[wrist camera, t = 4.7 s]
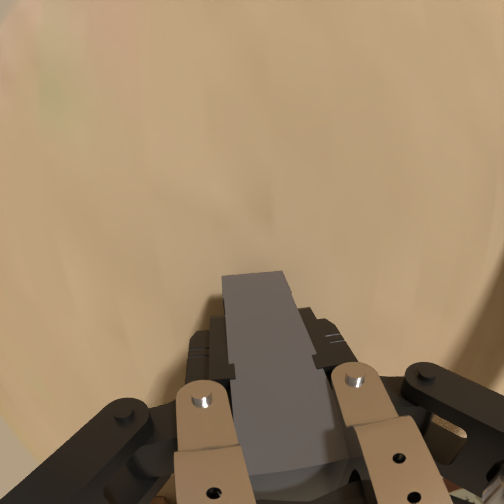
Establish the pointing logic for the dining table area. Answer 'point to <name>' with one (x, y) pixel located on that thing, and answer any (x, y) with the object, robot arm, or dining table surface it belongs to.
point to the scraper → (280, 393)
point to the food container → (461, 492)
